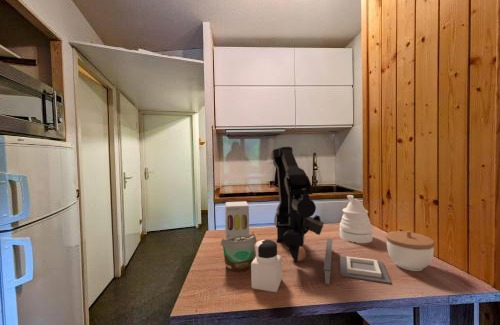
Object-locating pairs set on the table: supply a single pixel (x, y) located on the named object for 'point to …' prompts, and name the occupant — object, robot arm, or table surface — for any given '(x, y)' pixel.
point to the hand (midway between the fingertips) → (297, 254)
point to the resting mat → (363, 269)
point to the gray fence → (328, 261)
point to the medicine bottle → (266, 267)
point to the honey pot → (355, 223)
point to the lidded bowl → (410, 249)
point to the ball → (301, 254)
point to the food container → (239, 252)
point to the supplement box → (236, 219)
